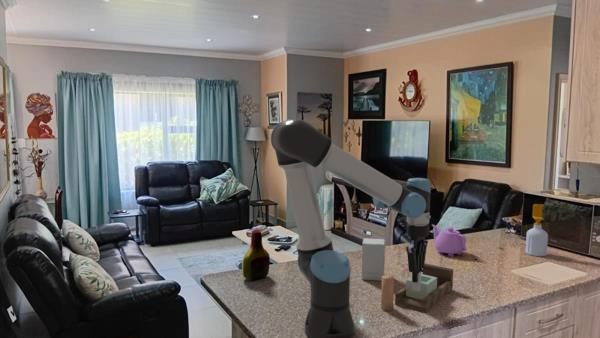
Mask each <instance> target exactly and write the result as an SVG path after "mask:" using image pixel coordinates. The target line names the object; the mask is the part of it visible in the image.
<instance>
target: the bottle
mask: <svg viewBox="0 0 600 338" xmlns="http://www.w3.org/2000/svg"><path fill="white" fill-rule="evenodd" d="M250 238H251V239H250V247H249V248H248V250H247V251H246V252H245V253H244V255H243V258H242V262H241V263H242V264H241V270H242V273H241V275H242V276H243V277H244V278H245V280H248V281H255V280H256V281H257V280H259V279H260V280H261V279H264V278H265V279H266V277H267V276H268V275H269V273H270V264H271V261H270V260H271V258H270V253H269V251H267V250H266V249H265V248H264V246H263V235H262V232H261V229H258V228H257V229H253V230H252V231H251V236H250Z"/></svg>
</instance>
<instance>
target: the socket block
mask: <svg viewBox="0 0 600 338" xmlns="http://www.w3.org/2000/svg"><path fill="white" fill-rule="evenodd" d="M405 286H406V296H407V297H411V298H415V299H419V300H423V299H424V298H426V297H427V296H428V295H430V294H431V293H432V292H433V291H435V290H436V289H437V277H433V276H428V275H424V274H422V273H421V291H419V292H417V291H413V290H412V275H411V276H410V277H408V278H406V279H405Z"/></svg>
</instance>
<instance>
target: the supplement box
mask: <svg viewBox="0 0 600 338" xmlns="http://www.w3.org/2000/svg"><path fill="white" fill-rule="evenodd" d="M385 248H386V240H385V239H383V238H367V237H366V238H365V237H364V238H363V240H362V251H361V253H362V254H361V280H366V281H376V282H377V281H380V282H382V276H384V275H385V259H386V258H385V257H386V256H385V255H386V254H385V253H386V249H385Z"/></svg>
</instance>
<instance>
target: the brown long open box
mask: <svg viewBox="0 0 600 338" xmlns="http://www.w3.org/2000/svg"><path fill="white" fill-rule="evenodd" d="M422 270H424V272H421V274H424V275H428V276H433V277H437V289H436V290H435V291H433V292H432V293H431V294H430V295H428V296H427V297H426V298H424V299H423V300H419V299H415V298H411V297H407V296H406V285H405V286H404V287H403V288H401V289H399V290H398V291H396V292H395V293H394V304H395V305H396V306H401V307H403V308H407V309H411V310H415V311H418V312H422V313H427V312H428V311H429V310H430V309H432V308H433V307H434V306H435V305H436V304H438V303H439V302H440V301H441V300H442V299H444V298H445V297H446V296H447V295H448V294H449V293H451V292H452V291H453V281H454V280H453V279H454V269H453V268H449V267H448V268H447V267H444V266H443V267H442V266H438V265H434V264H429V263H425V265H424V269H423V268H422Z"/></svg>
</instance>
